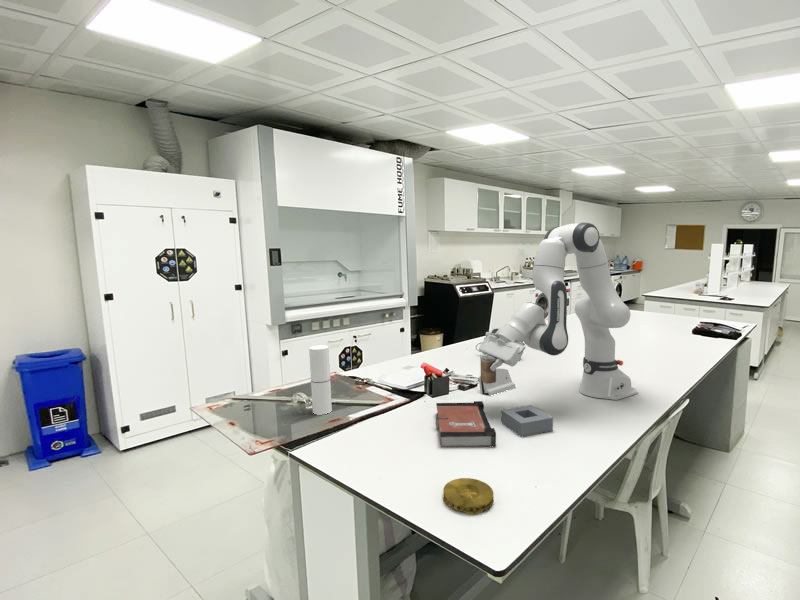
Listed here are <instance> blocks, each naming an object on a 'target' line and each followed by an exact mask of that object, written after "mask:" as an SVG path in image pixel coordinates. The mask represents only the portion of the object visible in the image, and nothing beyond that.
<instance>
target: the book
mask: <svg viewBox="0 0 800 600" xmlns="http://www.w3.org/2000/svg"><path fill="white" fill-rule="evenodd" d="M435 405H436V418H435V427H436V429H435V430H438V435H439V443H440V448H496V447H497V432H496V430H495V428H494V427H492V426H491V424H490V423H489V419H488V416H487V415H486V412H485V409H484V408H485V405H484V402H483V401H482V400H481V401H478V400H476V401H475V400H474V401H473V402H436V404H435ZM490 446H491V447H490ZM492 446H493V447H492ZM495 446H496V447H495Z"/></svg>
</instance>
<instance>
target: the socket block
mask: <svg viewBox="0 0 800 600" xmlns="http://www.w3.org/2000/svg"><path fill="white" fill-rule="evenodd" d="M501 422H502V423H503V426H505V425H506V426H505V427H507V428H508V427H509V428H510V430H511V431H512V430H513V431H512V432H514V433H515V434H516V433H517V434H516V435H518V436H519V435H520V436H519V437H520V438H522V436H523V437H528V436H532V434H534V435H538V434H537V433H539V434H543V432H544V433H549V431H550V432H553V430H554V428H553V427H554V417H552V416H551V415H549V414H548V413H545V412H544V411H542V410H540V409H539V408H536V407H535V406H533V405H531V404H529V405H523V406H518V407H512V408H505V409H501V410H500V423H501ZM502 423H501V424H502ZM509 428H508V429H509ZM527 435H528V436H527Z"/></svg>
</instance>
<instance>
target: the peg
mask: <svg viewBox="0 0 800 600" xmlns="http://www.w3.org/2000/svg"><path fill="white" fill-rule="evenodd" d="M479 357H480V358H479V359H480V375H481V381H482V382H484V383H486V384H488V383H495V382H496V369H497V368H496V369H495V370H494V371H492V370H490V369H489V366H490V365H491V364H494V363H495V362H496V358H495V357H493V356H491V355H489V356H484V355H482V356H479Z"/></svg>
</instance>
